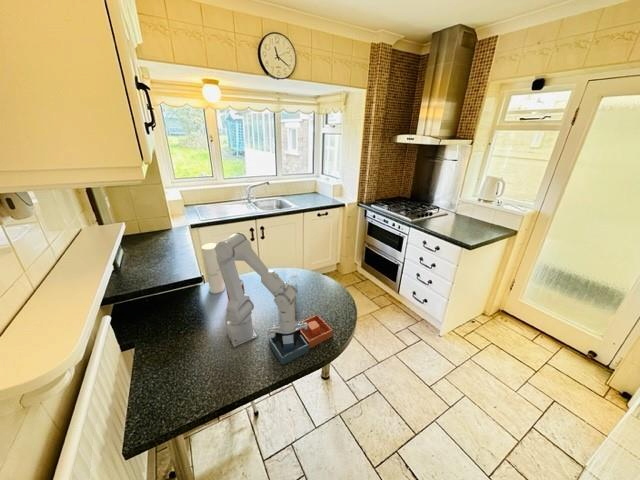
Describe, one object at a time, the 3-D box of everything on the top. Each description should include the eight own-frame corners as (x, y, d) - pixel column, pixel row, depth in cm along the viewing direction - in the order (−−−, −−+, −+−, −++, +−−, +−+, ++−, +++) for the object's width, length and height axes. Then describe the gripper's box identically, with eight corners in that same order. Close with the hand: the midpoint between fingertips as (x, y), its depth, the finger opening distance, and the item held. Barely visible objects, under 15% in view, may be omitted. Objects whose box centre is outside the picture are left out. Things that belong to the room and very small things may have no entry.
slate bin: (282, 365, 92) (281, 358, 90) (269, 345, 100) (268, 338, 99) (308, 351, 97) (308, 344, 96) (294, 333, 106) (294, 326, 104)
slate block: (283, 352, 96) (283, 344, 95) (283, 344, 100) (282, 336, 98) (294, 350, 97) (294, 342, 95) (293, 342, 101) (293, 334, 99)
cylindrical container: (227, 288, 134) (220, 245, 124) (216, 295, 129) (207, 250, 119) (218, 283, 138) (211, 241, 128) (207, 290, 132) (198, 247, 122)
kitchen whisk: (288, 328, 110) (278, 318, 108) (294, 283, 141) (286, 276, 139) (299, 321, 108) (289, 311, 106) (303, 277, 139) (295, 270, 137)
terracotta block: (311, 337, 103) (311, 329, 101) (306, 331, 106) (306, 323, 104) (320, 333, 105) (320, 326, 103) (314, 327, 108) (314, 320, 106)
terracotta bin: (309, 348, 98) (309, 342, 97) (295, 330, 107) (294, 324, 105) (332, 336, 104) (332, 330, 103) (317, 320, 113) (317, 314, 111)
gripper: (305, 307, 97) (305, 334, 103) (266, 311, 95) (269, 339, 100) (308, 319, 91) (308, 348, 96) (266, 325, 88) (269, 353, 94)
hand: (288, 344), depth 98 cm, fingers closed on slate block, 4 cm apart
